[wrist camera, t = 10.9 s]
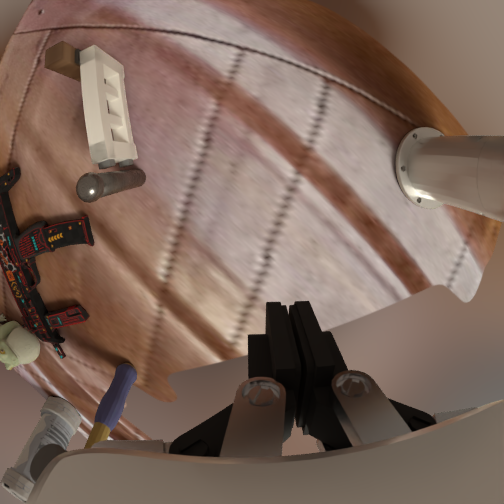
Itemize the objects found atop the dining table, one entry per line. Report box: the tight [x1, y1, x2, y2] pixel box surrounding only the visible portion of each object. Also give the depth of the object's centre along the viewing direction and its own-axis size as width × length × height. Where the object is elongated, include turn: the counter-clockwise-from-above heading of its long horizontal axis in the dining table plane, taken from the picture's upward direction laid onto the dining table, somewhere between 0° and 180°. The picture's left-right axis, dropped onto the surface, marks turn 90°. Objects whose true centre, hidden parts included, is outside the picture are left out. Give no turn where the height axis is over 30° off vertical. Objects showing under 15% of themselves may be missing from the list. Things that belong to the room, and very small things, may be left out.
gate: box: [80, 45, 138, 169], centre depth 27 cm, size 2×15×9 cm, turn 11°
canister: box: [0, 396, 81, 504], centre depth 35 cm, size 10×10×30 cm
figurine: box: [0, 313, 40, 370], centre depth 38 cm, size 10×16×10 cm, turn 92°
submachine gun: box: [0, 167, 94, 359], centre depth 37 cm, size 34×4×25 cm
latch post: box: [45, 41, 106, 84], centre depth 24 cm, size 3×2×13 cm
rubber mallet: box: [30, 363, 137, 482], centre depth 30 cm, size 12×8×30 cm, turn 26°
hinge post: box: [76, 169, 146, 203], centre depth 28 cm, size 3×3×15 cm
